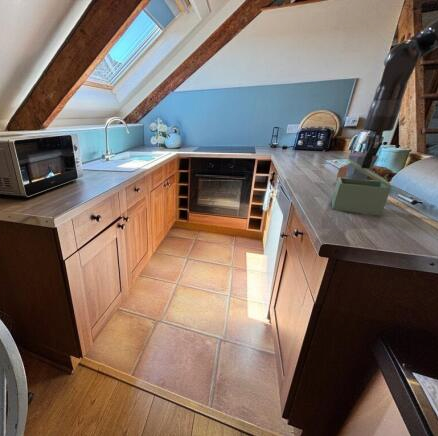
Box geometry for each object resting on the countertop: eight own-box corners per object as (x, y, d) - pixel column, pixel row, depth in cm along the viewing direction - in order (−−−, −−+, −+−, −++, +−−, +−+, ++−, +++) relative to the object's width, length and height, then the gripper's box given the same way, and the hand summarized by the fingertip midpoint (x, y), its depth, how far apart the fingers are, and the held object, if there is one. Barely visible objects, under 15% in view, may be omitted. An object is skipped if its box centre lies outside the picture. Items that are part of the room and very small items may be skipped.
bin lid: (348, 164, 84) (350, 162, 84) (345, 159, 93) (347, 157, 93) (390, 188, 80) (392, 186, 80) (383, 180, 89) (385, 179, 89)
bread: (342, 186, 119) (348, 166, 115) (334, 181, 128) (339, 162, 124) (389, 188, 114) (397, 167, 110) (377, 183, 123) (384, 163, 119)
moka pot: (347, 199, 101) (362, 149, 93) (328, 189, 115) (340, 145, 107) (373, 200, 99) (391, 150, 92) (350, 189, 114) (364, 145, 106)
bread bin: (332, 209, 91) (340, 183, 87) (331, 200, 100) (338, 177, 96) (380, 216, 84) (391, 188, 80) (374, 206, 93) (383, 181, 89)
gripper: (403, 115, 73) (382, 172, 79) (392, 115, 83) (375, 165, 90) (370, 115, 77) (353, 170, 83) (364, 115, 87) (349, 164, 93)
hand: (364, 167), depth 86 cm, fingers closed
